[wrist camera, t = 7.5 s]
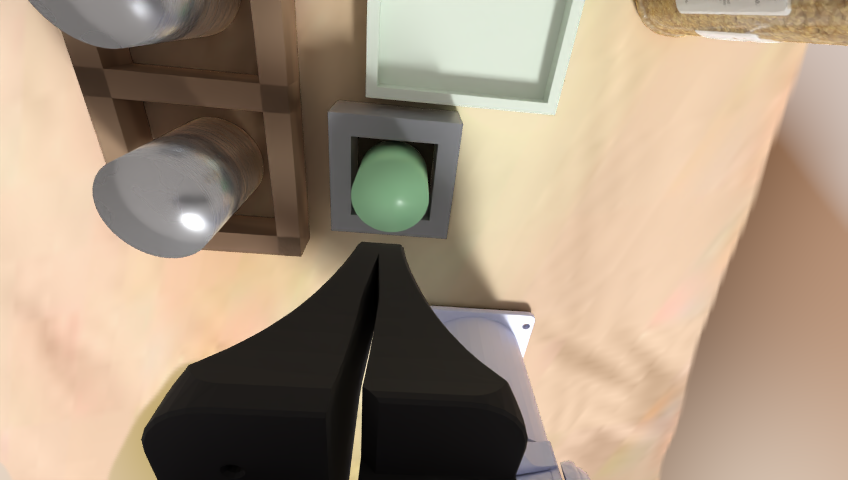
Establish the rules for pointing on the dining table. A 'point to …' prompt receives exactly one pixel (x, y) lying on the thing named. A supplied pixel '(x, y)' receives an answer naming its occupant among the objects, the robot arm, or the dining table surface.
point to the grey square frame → (403, 126)
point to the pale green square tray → (471, 52)
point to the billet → (137, 19)
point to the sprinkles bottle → (750, 20)
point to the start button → (391, 187)
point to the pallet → (267, 92)
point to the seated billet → (179, 187)
